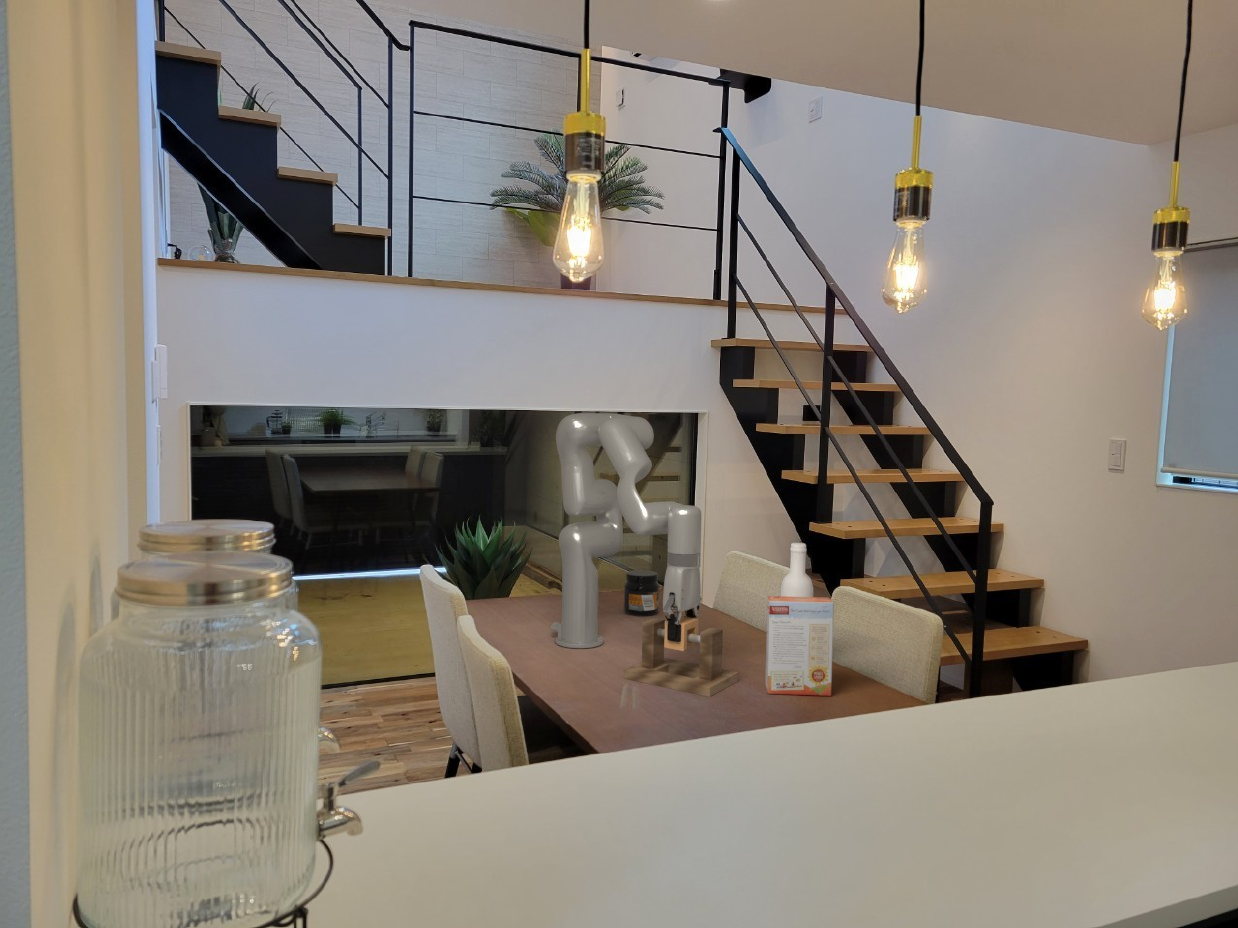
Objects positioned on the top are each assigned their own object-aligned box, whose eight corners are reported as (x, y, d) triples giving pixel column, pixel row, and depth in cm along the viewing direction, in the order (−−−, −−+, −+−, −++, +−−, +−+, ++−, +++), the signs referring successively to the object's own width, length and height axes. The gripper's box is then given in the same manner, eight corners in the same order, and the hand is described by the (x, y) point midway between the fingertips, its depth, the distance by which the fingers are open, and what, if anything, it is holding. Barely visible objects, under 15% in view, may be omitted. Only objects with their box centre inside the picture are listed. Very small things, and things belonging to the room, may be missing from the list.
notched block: (664, 647, 207) (664, 621, 206) (678, 641, 213) (679, 615, 212) (683, 651, 204) (684, 624, 204) (697, 644, 210) (698, 618, 209)
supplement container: (652, 618, 268) (652, 577, 267) (618, 614, 271) (619, 574, 270) (663, 610, 277) (664, 571, 277) (630, 607, 281) (631, 568, 280)
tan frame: (623, 678, 209) (624, 624, 208) (655, 664, 221) (656, 613, 220) (709, 696, 197) (711, 639, 196) (737, 680, 209) (739, 627, 208)
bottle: (771, 666, 221) (775, 543, 219) (786, 659, 227) (790, 540, 225) (802, 673, 216) (806, 547, 214) (816, 665, 222) (821, 543, 220)
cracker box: (827, 688, 205) (830, 596, 203) (831, 697, 199) (835, 602, 197) (764, 685, 206) (767, 594, 204) (766, 694, 200) (769, 600, 198)
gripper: (687, 553, 216) (686, 627, 217) (649, 563, 202) (648, 643, 203) (716, 556, 212) (714, 632, 213) (679, 567, 198) (677, 648, 199)
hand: (682, 636), depth 208 cm, fingers closed on notched block, 6 cm apart
